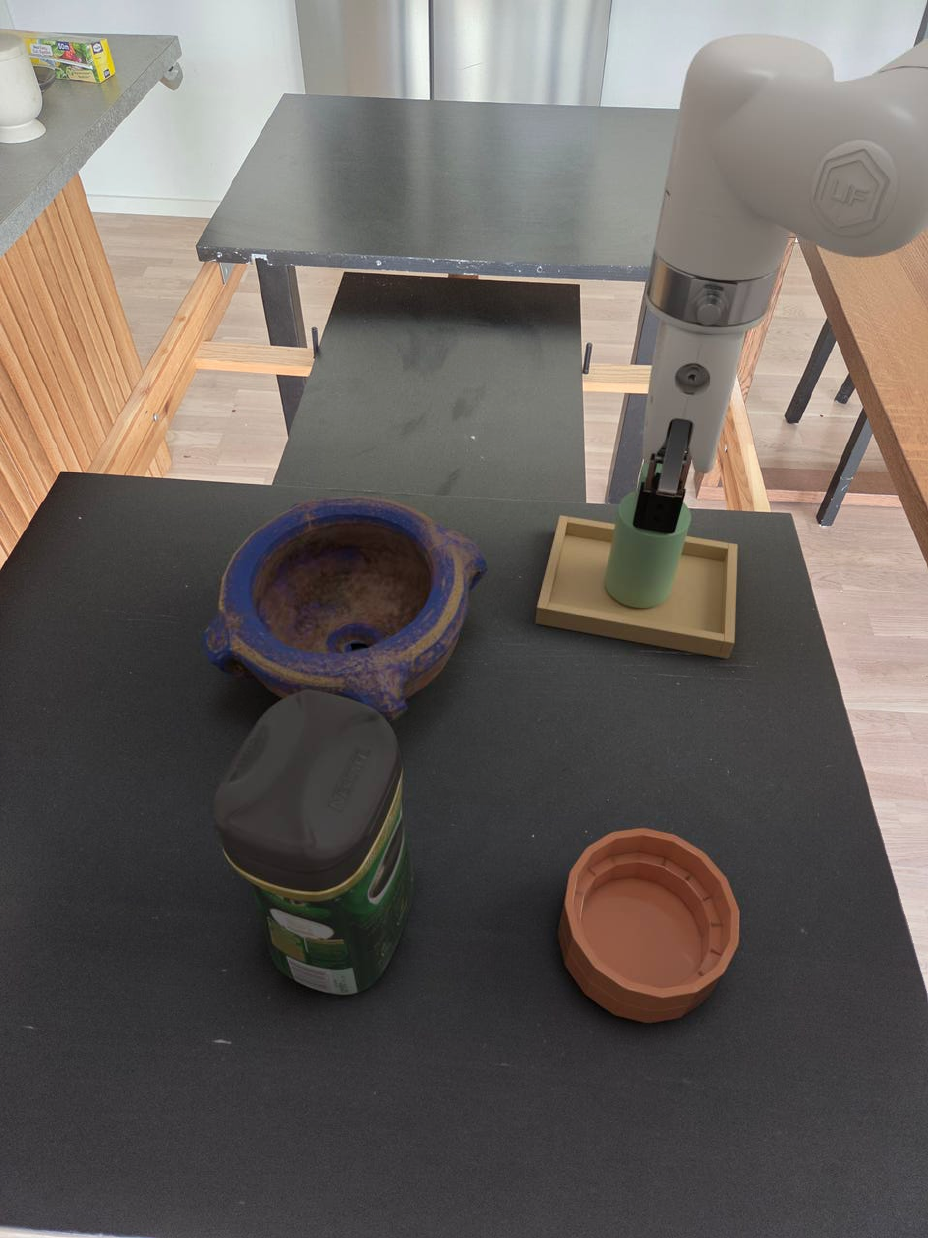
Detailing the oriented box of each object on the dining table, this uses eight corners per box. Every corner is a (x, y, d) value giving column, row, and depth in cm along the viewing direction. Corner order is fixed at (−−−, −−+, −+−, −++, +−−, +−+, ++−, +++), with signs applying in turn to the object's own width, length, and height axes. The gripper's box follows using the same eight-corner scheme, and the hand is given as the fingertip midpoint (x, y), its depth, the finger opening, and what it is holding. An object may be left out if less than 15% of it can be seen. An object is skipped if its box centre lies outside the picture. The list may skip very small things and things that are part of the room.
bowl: (190, 700, 64) (155, 611, 56) (319, 553, 74) (304, 462, 67) (398, 794, 58) (390, 709, 51) (504, 621, 69) (510, 530, 62)
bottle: (673, 567, 73) (704, 454, 64) (668, 613, 69) (700, 500, 60) (608, 556, 74) (630, 443, 65) (600, 601, 70) (622, 488, 61)
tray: (732, 560, 74) (737, 544, 73) (728, 659, 67) (734, 643, 65) (557, 531, 77) (559, 514, 75) (535, 623, 69) (536, 607, 68)
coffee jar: (318, 833, 56) (274, 657, 43) (429, 868, 55) (421, 697, 41) (249, 973, 50) (173, 821, 36) (373, 1018, 49) (341, 875, 35)
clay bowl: (721, 884, 54) (740, 848, 51) (715, 1044, 48) (737, 1016, 44) (570, 851, 56) (579, 813, 52) (545, 1001, 49) (553, 971, 46)
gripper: (774, 360, 46) (699, 594, 59) (772, 231, 56) (709, 454, 70) (635, 342, 47) (593, 575, 60) (659, 219, 57) (619, 441, 71)
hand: (656, 508), depth 65 cm, fingers closed on bottle, 3 cm apart
